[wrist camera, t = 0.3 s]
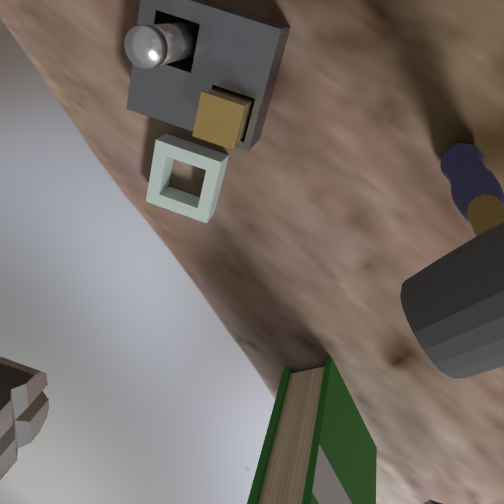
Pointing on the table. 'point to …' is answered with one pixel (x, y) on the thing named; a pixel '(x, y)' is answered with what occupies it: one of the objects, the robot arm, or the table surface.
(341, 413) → the hardback book
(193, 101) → the socket block
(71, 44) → the table surface
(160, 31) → the metal cylindrical peg
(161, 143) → the pale green square frame
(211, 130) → the gold rectangular block
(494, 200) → the rubber mallet
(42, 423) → the robot arm
